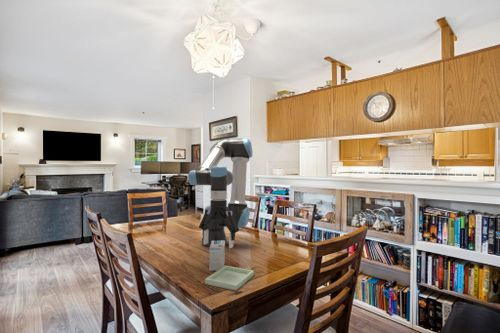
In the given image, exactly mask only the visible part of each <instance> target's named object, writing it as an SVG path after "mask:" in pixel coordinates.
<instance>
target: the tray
mask: <svg viewBox="0 0 500 333" xmlns="http://www.w3.org/2000/svg"><path fill="white" fill-rule="evenodd" d="M254 276H255V270H254V269H253V270H251V269H247V268H241V267H236V266H235V267H234V266H230V265H224V267H223V268H221V269H220V270H218V271H215V272H214V273H212V274H210V275H209V276H207V277H206V278H205V281H204V282H205V283H204V284H205V285H210V286H212V287H213V286H214V287H218V288H222V289H227V290H231V291H234V292H235V291H236V292H237V291H238V290H239V289H240V288H242V286H244V285H245V284H246V283H247V282H248V281H249V280H250V279H252V278H253V277H254Z"/></svg>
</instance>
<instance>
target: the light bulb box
mask: <svg viewBox="0 0 500 333" xmlns="http://www.w3.org/2000/svg"><path fill="white" fill-rule="evenodd" d="M208 248H209V251H208V253H209V254H208V256H209V259H208V260H209V262H208V263H209V264H208V265H209V268H208V271H210V272H211V271H215V272H217V271H218V270H220V269H221V268H223V267H224V266H225V262H226V260H225V258H226V254H225V253H226V251H225V250H226V245H225V241H224V240H223V241H211V245H210V247H208Z"/></svg>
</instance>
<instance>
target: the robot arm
mask: <svg viewBox="0 0 500 333" xmlns="http://www.w3.org/2000/svg"><path fill="white" fill-rule="evenodd" d="M252 157H253V146H252V142H251V140H250V139H249V138H225V139H221V140H219V141H217V142H216V143H214V144H213V145H212V146H211V147H210V149H209V153H208V154H207V156H206V157H205V158H204V160H203V161H202V163H201V164H200V165H199V167H198V168H197V169H193V170H190V171H189V172H188V174H187V180H188V183H189V185H192V186H210V201H209V202H210V203H209V204H210V205H207V206H206V207H205V208H204V214H203V216H202V218H201V221H200V223H199V225H198V229H201V230H202V238H201V245H202V246H203V247H208V248H209V247H210V245H211V241H223V240H224V241H225V246H226V245H227V244H228V248H229V249H232V248H233V247H234V241H235V239H236V233H238V232H239V231H240V229H239V228H245V227H247V225H248V223H249V220H250V214H251V209H250V207H248V204H247V202H246V191H247V190H246V185H247V167H248V163H249V161H250V159H251V158H252ZM224 158H230V161H231V162H232V172H231V171H229V170H228V168H227V166H223V165H222V166H220V165H219V166H218V164H219V163H220V162H221V160H223V159H224ZM229 185H231V190H230V201H229V202H228V200H227V198H228V191H227V190H228V186H229ZM225 227H226V228H227V230H228V231H229V233H228V238H227V235H226V234H227V233H226V232H225Z"/></svg>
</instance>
